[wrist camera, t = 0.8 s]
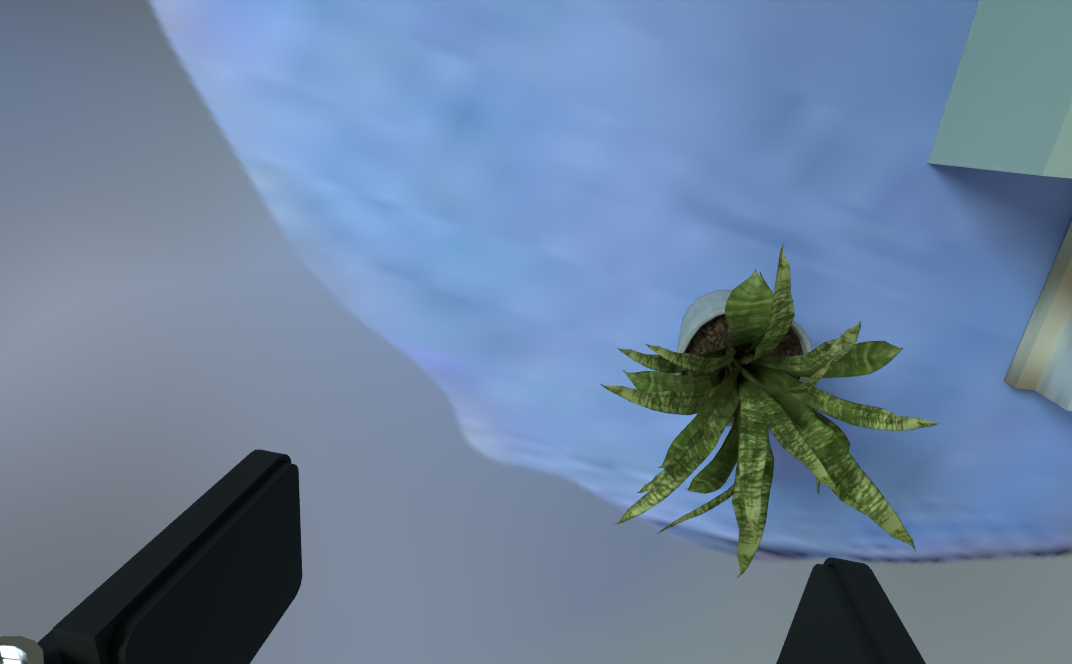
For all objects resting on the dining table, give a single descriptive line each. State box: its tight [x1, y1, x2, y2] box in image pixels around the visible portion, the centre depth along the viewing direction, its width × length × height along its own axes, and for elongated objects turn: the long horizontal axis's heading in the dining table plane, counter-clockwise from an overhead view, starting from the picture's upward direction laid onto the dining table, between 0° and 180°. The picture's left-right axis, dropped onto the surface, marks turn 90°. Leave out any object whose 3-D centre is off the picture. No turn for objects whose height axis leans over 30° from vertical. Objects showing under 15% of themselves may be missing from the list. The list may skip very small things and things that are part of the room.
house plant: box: [601, 243, 940, 578], centre depth 27 cm, size 14×14×16 cm
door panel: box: [927, 0, 1072, 179], centre depth 24 cm, size 14×2×9 cm, turn 175°
